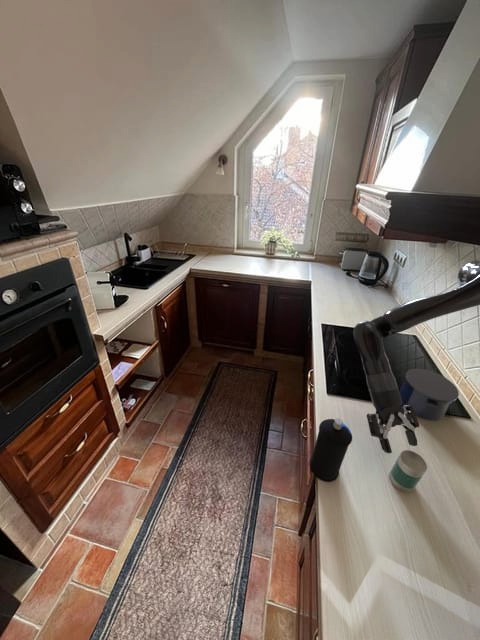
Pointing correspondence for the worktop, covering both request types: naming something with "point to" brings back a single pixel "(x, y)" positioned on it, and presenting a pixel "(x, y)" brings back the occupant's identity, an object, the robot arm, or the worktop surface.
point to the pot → (428, 393)
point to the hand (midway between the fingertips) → (401, 449)
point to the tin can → (407, 471)
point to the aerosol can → (330, 449)
